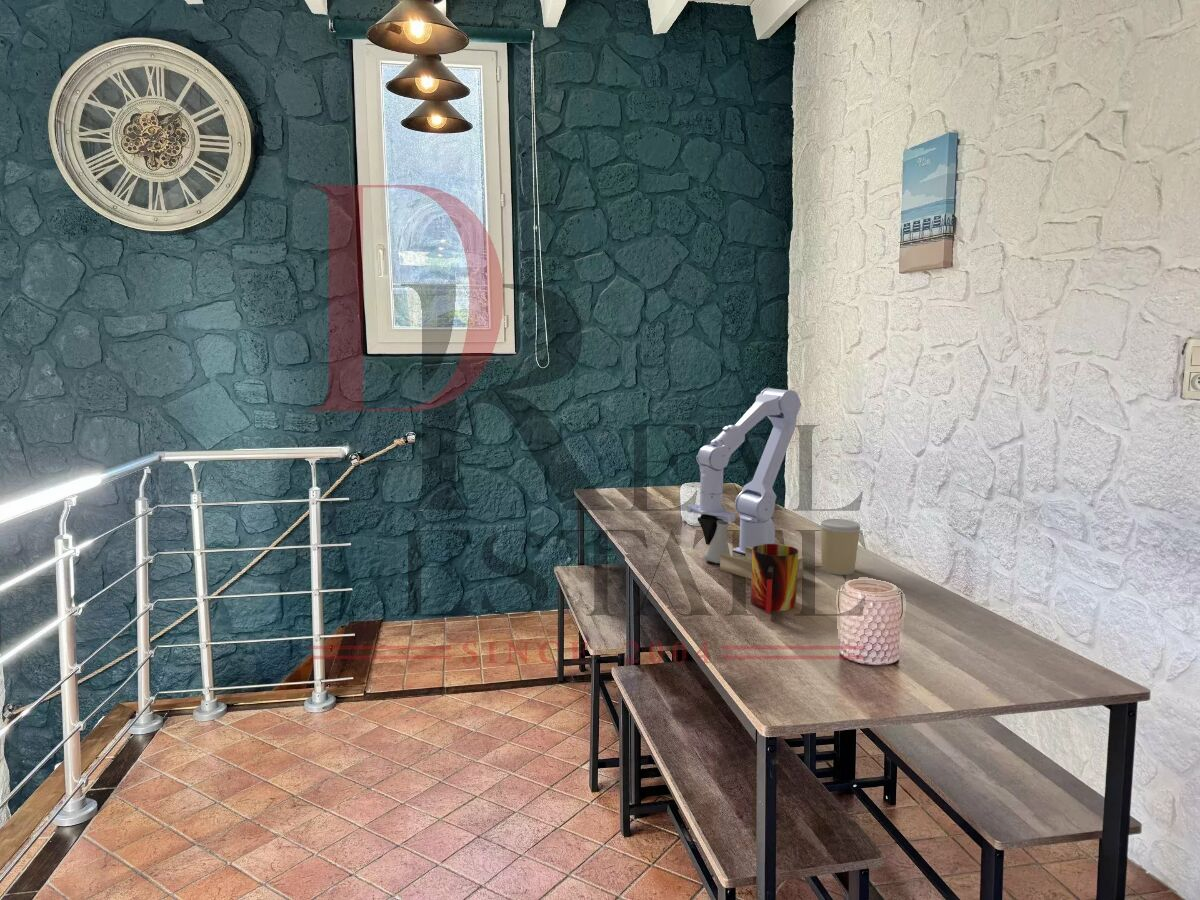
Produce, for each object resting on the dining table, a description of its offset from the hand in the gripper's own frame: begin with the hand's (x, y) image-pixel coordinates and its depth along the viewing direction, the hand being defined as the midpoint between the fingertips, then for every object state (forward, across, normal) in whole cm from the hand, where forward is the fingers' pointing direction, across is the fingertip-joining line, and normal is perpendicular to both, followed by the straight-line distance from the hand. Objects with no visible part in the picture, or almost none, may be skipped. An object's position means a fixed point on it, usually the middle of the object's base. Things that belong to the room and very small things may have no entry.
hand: (709, 543), depth 207 cm
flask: (+4, +3, 0) cm, 4 cm away
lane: (+4, +16, 0) cm, 16 cm away
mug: (+4, +33, -16) cm, 37 cm away
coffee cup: (+4, +27, +17) cm, 32 cm away
